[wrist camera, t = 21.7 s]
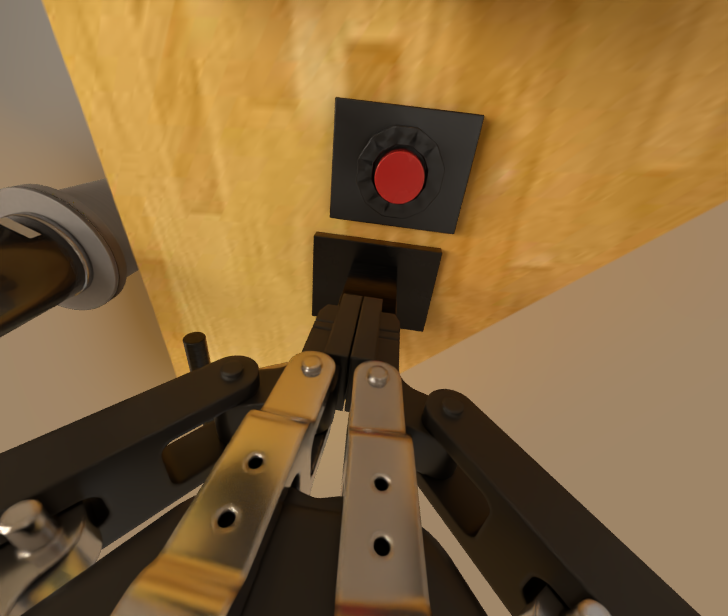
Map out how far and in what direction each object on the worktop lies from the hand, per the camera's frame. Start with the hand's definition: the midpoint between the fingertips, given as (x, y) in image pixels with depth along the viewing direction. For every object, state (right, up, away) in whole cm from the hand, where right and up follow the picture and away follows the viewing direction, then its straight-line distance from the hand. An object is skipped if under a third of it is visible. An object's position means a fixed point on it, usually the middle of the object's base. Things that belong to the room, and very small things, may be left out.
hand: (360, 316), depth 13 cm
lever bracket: (+1, +3, +21) cm, 21 cm away
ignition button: (+3, +11, +12) cm, 17 cm away
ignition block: (+3, +12, +15) cm, 20 cm away
